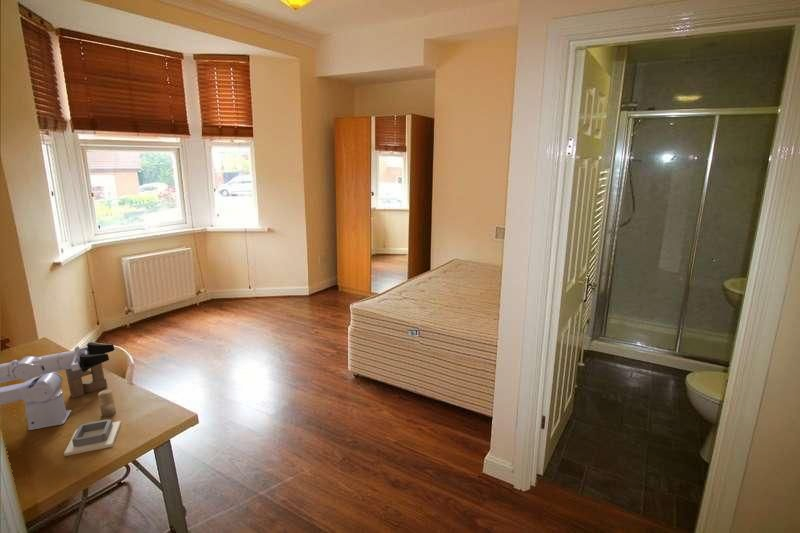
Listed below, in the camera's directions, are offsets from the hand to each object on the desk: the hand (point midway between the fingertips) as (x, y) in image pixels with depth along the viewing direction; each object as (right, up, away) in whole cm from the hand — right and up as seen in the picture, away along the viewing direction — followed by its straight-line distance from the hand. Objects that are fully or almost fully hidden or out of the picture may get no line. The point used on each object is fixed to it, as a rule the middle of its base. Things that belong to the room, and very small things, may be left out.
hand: (111, 352), depth 141 cm
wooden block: (-19, -18, +16) cm, 31 cm away
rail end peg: (-2, -22, +3) cm, 22 cm away
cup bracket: (+2, -25, -10) cm, 27 cm away
